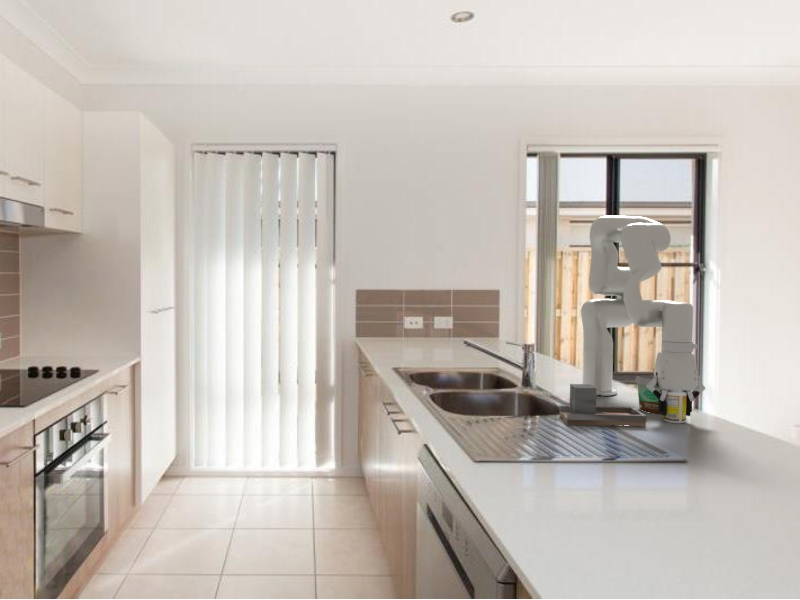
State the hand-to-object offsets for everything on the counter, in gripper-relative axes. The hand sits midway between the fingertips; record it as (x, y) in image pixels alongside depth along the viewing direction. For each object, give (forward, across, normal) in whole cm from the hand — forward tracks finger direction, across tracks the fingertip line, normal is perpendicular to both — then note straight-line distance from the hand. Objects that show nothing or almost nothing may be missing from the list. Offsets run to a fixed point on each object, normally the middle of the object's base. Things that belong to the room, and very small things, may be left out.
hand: (674, 414), depth 162 cm
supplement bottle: (+2, 0, 0) cm, 2 cm away
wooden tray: (+2, +20, +2) cm, 20 cm away
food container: (+2, +1, -11) cm, 11 cm away
